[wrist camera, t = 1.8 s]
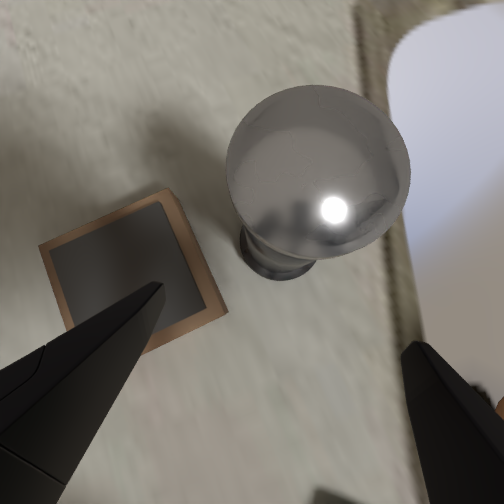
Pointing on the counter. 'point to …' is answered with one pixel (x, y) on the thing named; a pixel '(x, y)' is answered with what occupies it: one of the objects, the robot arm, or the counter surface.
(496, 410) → the egg
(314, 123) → the grey plastic cylinder
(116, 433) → the counter surface
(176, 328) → the stand
